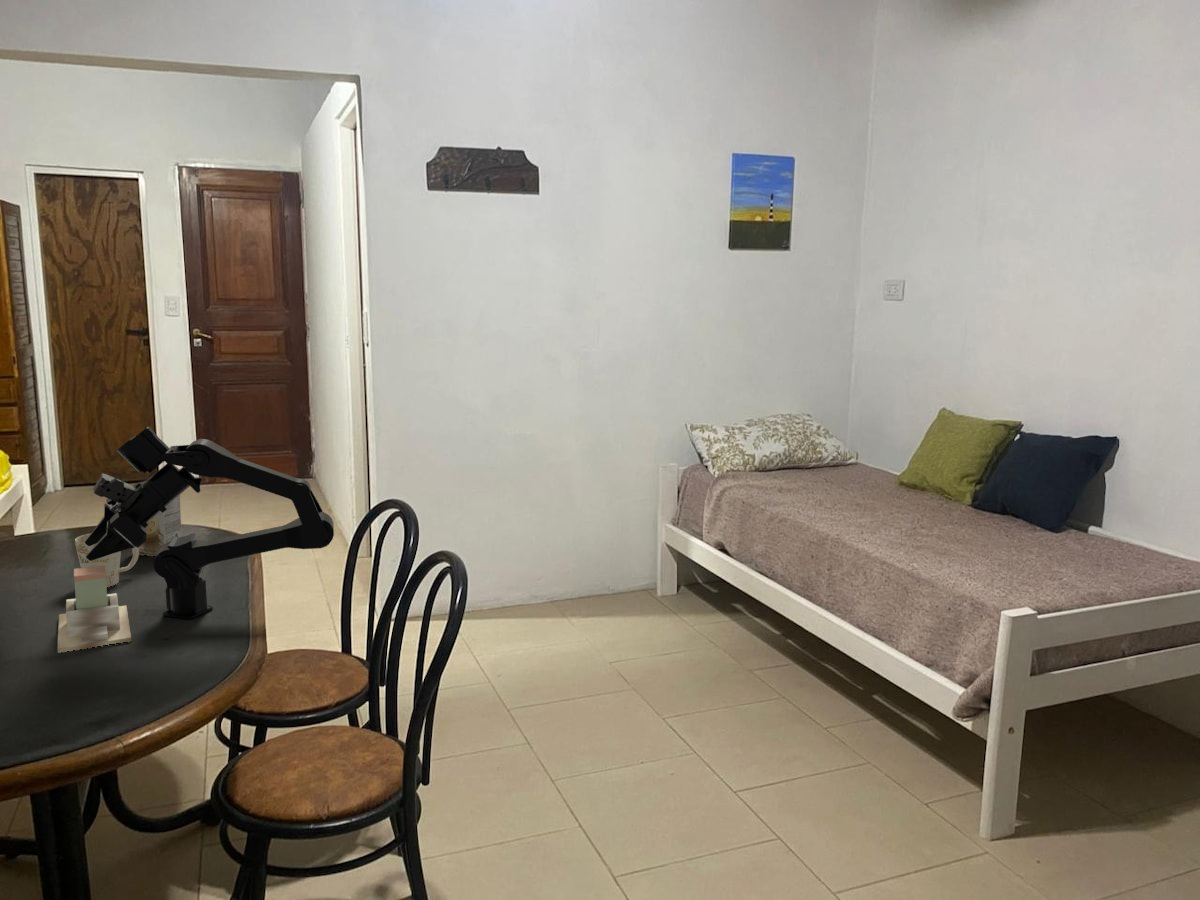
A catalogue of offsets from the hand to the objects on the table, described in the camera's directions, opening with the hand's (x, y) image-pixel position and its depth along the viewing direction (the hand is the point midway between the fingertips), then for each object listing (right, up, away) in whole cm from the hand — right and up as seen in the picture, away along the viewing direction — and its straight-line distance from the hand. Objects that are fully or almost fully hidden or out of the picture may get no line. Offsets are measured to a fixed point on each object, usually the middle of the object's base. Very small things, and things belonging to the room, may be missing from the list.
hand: (87, 551), depth 163 cm
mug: (-10, -9, +26) cm, 30 cm away
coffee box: (-10, -6, +47) cm, 48 cm away
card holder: (+1, -14, 0) cm, 14 cm away
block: (+1, -11, 0) cm, 11 cm away
